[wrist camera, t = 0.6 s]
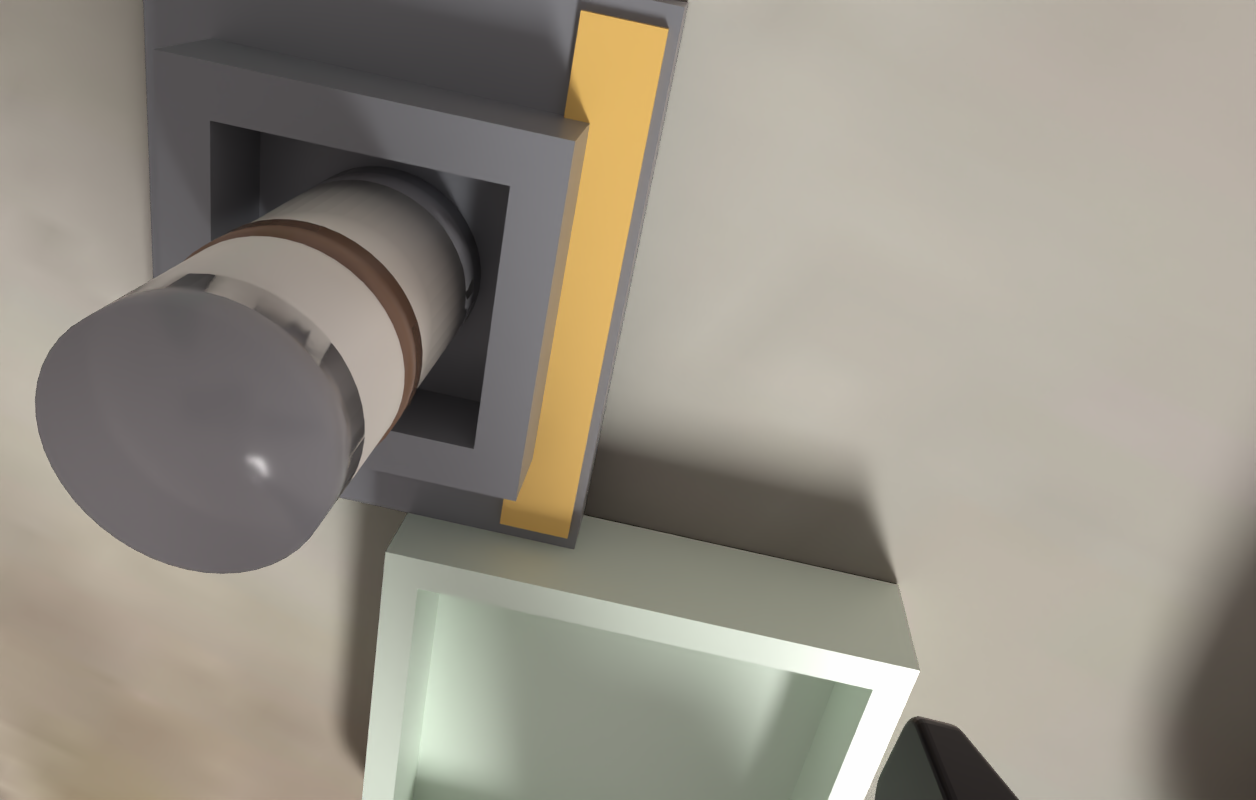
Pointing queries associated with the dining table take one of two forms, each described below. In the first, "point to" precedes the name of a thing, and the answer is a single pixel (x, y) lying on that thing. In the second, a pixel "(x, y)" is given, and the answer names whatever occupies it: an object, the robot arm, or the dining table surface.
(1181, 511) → the dining table surface
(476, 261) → the cylinder
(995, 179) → the dining table surface
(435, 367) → the holder
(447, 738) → the tray
